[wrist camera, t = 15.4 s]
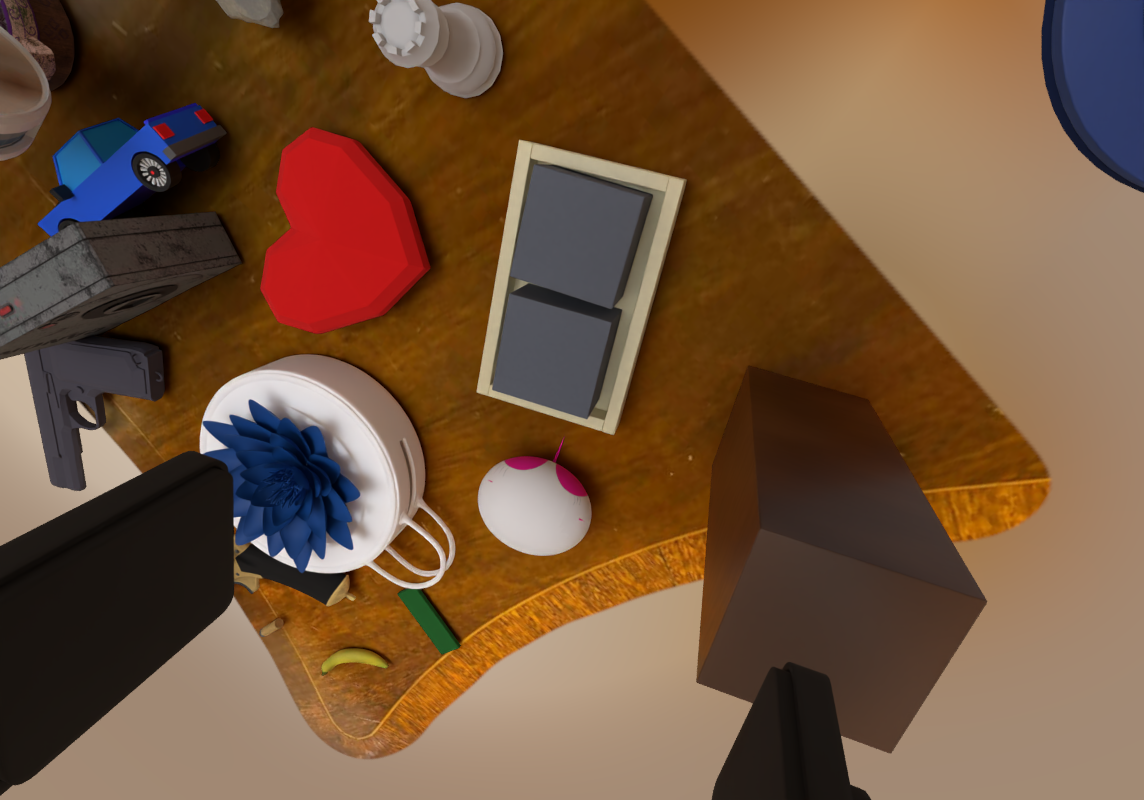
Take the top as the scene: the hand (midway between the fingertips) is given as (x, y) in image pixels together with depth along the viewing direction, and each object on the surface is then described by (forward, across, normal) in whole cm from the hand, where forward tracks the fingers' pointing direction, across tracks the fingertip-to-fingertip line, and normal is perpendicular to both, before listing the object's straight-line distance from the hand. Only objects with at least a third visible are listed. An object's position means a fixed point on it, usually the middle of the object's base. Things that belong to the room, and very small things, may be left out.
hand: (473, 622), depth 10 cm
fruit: (+28, +18, +36) cm, 49 cm away
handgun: (+28, +35, +22) cm, 49 cm away
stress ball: (+28, +4, +14) cm, 32 cm away
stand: (+28, -10, +6) cm, 30 cm away
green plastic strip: (+28, +10, +29) cm, 41 cm away
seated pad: (+28, +5, +4) cm, 29 cm away
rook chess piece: (+28, +14, -10) cm, 33 cm away
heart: (+28, +19, +2) cm, 34 cm away
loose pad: (+28, +5, -3) cm, 28 cm away
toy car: (+26, +33, +3) cm, 42 cm away
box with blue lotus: (+28, +19, +19) cm, 39 cm away
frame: (+28, +5, +1) cm, 29 cm away
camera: (+28, +36, +8) cm, 46 cm away
